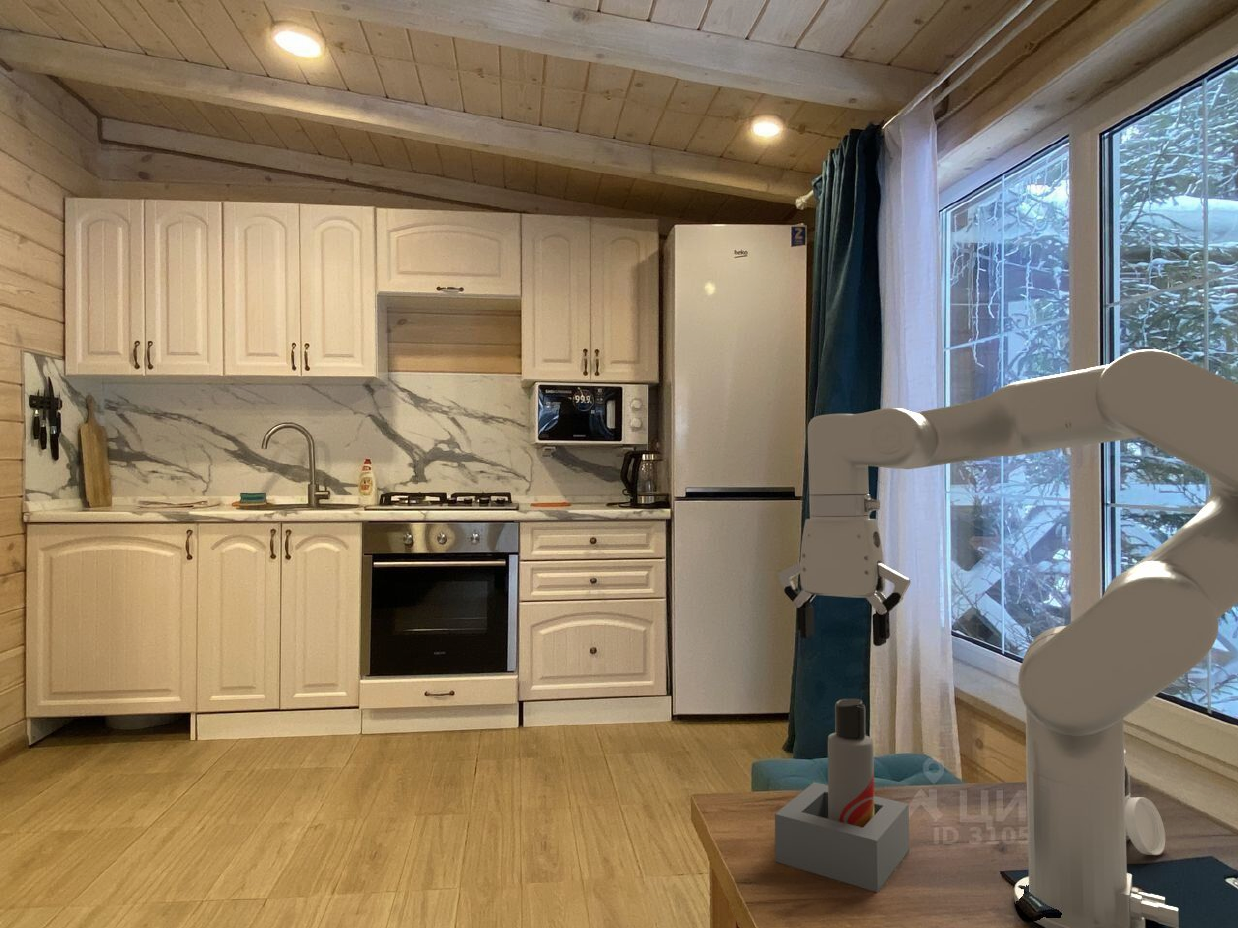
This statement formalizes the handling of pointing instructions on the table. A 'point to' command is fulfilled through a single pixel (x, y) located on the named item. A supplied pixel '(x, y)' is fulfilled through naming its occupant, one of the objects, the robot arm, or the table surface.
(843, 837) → the sleeve
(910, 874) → the table surface
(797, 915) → the table surface
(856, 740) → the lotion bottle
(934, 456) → the robot arm
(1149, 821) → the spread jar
